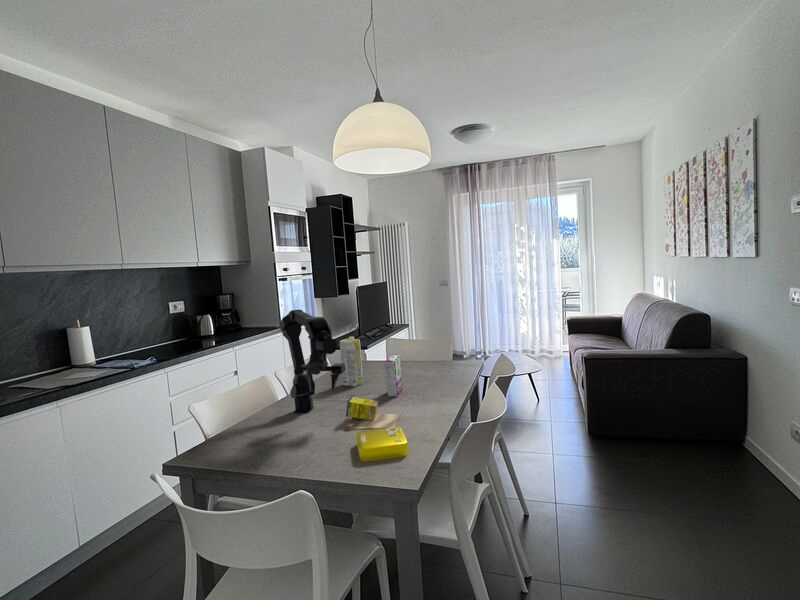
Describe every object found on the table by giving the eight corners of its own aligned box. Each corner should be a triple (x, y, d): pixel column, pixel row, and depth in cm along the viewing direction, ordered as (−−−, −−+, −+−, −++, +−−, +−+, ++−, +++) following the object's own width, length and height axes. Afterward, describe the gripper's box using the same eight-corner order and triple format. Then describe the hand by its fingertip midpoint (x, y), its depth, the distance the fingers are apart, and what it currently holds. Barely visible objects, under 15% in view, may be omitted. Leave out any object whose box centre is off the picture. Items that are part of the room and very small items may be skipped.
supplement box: (347, 401, 162) (375, 406, 161) (351, 396, 168) (378, 400, 167) (345, 416, 163) (373, 421, 162) (349, 411, 169) (376, 415, 168)
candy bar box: (392, 389, 203) (389, 355, 202) (402, 389, 202) (400, 355, 201) (386, 397, 192) (384, 360, 191) (397, 396, 191) (395, 360, 190)
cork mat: (350, 429, 156) (350, 428, 156) (360, 415, 170) (360, 414, 170) (394, 428, 154) (394, 427, 154) (400, 415, 167) (400, 414, 167)
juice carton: (365, 383, 217) (361, 336, 216) (355, 387, 211) (351, 338, 209) (350, 381, 222) (347, 335, 221) (340, 385, 216) (337, 338, 214)
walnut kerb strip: (346, 430, 155) (345, 426, 155) (357, 414, 171) (357, 411, 171) (351, 430, 155) (351, 426, 155) (362, 414, 171) (361, 410, 171)
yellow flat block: (356, 444, 143) (355, 430, 143) (401, 438, 146) (400, 424, 146) (360, 463, 129) (359, 448, 128) (409, 457, 131) (408, 441, 131)
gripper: (286, 356, 158) (289, 398, 159) (335, 354, 154) (338, 397, 156) (298, 349, 168) (301, 389, 170) (344, 348, 165) (347, 388, 167)
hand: (321, 391), depth 165 cm, fingers open, 9 cm apart
